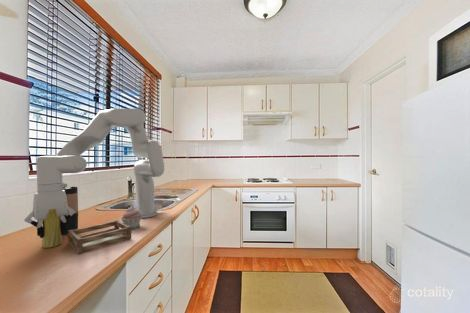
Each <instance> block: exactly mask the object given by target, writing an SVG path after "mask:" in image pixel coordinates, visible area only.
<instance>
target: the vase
mask: <svg viewBox="0 0 470 313" xmlns="http://www.w3.org/2000/svg"><path fill="white" fill-rule="evenodd" d="M42 227H43V238H41V239H42V240H41V241H42V244H41V247H42V248H43V249H44V248H46V249H48V248H55V247H57V246H60V245H61V244H62V243H63V239H62V237H63V235H61V223H60V217H58V216H57V214H56V209H50V210H49V213H48V214H47V218H46V219H44V220H43V222H42Z"/></svg>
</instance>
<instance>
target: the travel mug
mask: <svg viewBox="0 0 470 313" xmlns="http://www.w3.org/2000/svg"><path fill="white" fill-rule="evenodd" d="M63 190H65V193H66V197H67V204H68V206H69V207H70V208H71V209H73V210H74V211H75V213H74V214H73V215H72V216H71V217H70V218H69V219H68V220H67V221H66V222H65V230H64V233H61V236H66V235H67V236H68V230H75V229H79V196H78V194H79V193H78V191H79V190H78V186H71V187H68V188H67V187H64V188H63ZM68 213H69V211H68ZM68 213H67V214H68ZM67 214H66V215H67ZM66 215H64V217H65V216H66ZM60 222H61V219H60Z"/></svg>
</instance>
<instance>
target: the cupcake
mask: <svg viewBox="0 0 470 313" xmlns="http://www.w3.org/2000/svg"><path fill="white" fill-rule="evenodd" d="M140 215H141V213H140V212H139V211H138V210H137V209H136V208H134V206H130V207H128V208H127V209H126V211H124V212H123V215H122V217H121V218H120V219H121V223H123V224H125V225H127V226H131V230H134V229H137V228H139V227H140V224H141V223H140V222H141V219H143V218H142V216H140Z"/></svg>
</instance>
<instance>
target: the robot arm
mask: <svg viewBox="0 0 470 313" xmlns="http://www.w3.org/2000/svg"><path fill="white" fill-rule="evenodd" d="M146 118H147V116H146V113H145V112H144V111H143V110H142V109H140V108H110V109H104V110H100V111H99V112H98V113H97V114H96V115H94V117H93V119H92V120H91V121H90V122H89V124H88V125H86V127H85V128H84V129H83V131H82V132H80V133H79V134H77V135H76V136H75V137H74V138H72V139H71V140H69V141H68V142H67V143H66V144H65V145H64V146H62V148H61V149H60V150H59V151H58V153H57V154H56V155H41V156H40V155H39V156H38V157H37V158H36V164H35V165H36V187H37V188H36V190H37V192H34V193H33V194H34V195H33V200H32V211H31V212H30V213H29V214H28V215H27V216H26V217H25V218H24V222H25V223H28V224H30V225H31V226H34V227H36V232H37V233H36V235H37V237H39V238H40V239H42V238H43V223H42V222H43V220H44V219H46V218H47V214H48V213H49V210H50V209H56V214H57V216H58V217H60V219H61V222H60V223H61V233H64V230H65V222H66V221H67V220H68V219H69V218H70V217H71V216H72V215H73V214H74V213H75V211H74V210H73V209H71V208H70V207H69V206H68V204H67V197H66V193H65V190H63V188H64V187H65V188H67V187H68V183H65V182H63V174H79V173H81V172H83V171H85V169H86V168H87V166H88V165H87V164H88V163H87V160H86V158H84V157H83V156H81V155H82V154H84V153H85V152H86V151H88V150H90V149H93V148H96V147H97V146H99V145H100V144H102V143H103V141H104V140H105V138H106V137H107V136H108V134H109V133H110V132H111V130H113V128H121V127H123V128H124V129H125V130H126V131H127V132H128V134H129V137H130V142H131V147H132V150H133V151H132V152H133V154H134V156H135V157H137V158H139V160H138V161H136V162H135V163H134V165H133V172H134V174H133V175H134V177H135V203H136V204H135V205H136V206H135V207H136V208H135V209H137V210H138V211H139V212H140V213H141V215H140V216H142V218H141V219H146V218H152V217H154V216H157V215H158V212H157V211H159V210H163V206H162V205H160V206H157V205H155V183H154V179H153V178H159V177H161V176H163V174H164V172H165V163H164V162H165V161H164V155H163V149H162V147H161V144H160V143H159V142H158V141H156V140H153V139H152V140H151V139H148V134H147V130H146V128H145V127H144V124H145V122H146V120H147V119H146ZM142 158H143V159H142ZM68 211H69V213H68ZM67 213H68V214H67ZM66 214H67V215H66ZM64 215H66V216H65V217H64ZM32 218H34V220H33V219H32ZM35 220H36V221H35Z"/></svg>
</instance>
